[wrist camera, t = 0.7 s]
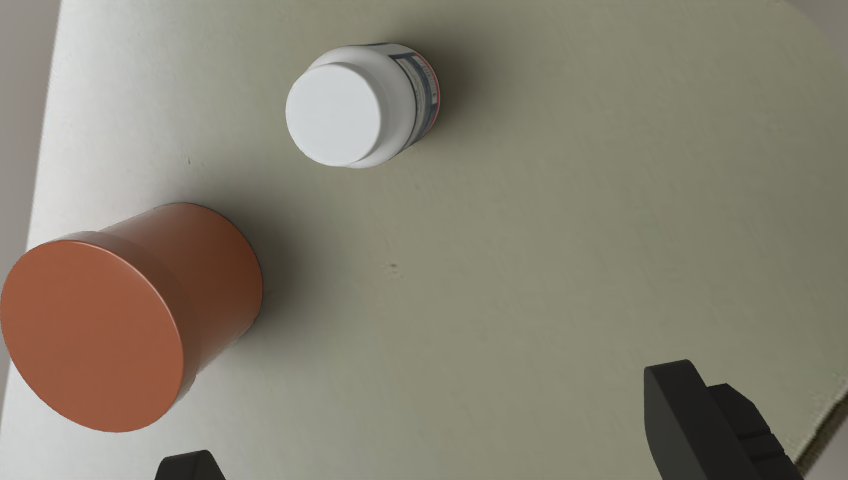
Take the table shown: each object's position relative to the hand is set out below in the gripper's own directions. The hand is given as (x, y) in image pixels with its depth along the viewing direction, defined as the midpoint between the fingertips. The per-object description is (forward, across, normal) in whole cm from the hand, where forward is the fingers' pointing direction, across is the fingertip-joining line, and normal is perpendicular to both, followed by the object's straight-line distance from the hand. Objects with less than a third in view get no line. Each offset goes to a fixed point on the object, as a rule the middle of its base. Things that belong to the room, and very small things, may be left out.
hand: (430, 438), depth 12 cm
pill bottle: (+25, 0, +2) cm, 25 cm away
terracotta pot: (+25, +14, +11) cm, 31 cm away
